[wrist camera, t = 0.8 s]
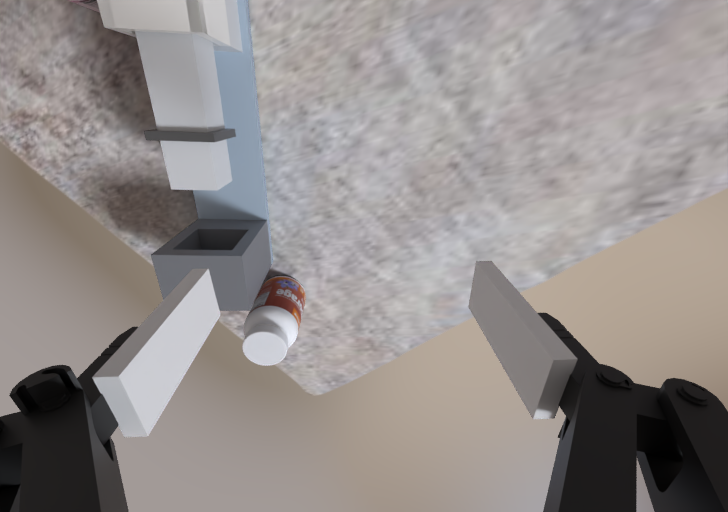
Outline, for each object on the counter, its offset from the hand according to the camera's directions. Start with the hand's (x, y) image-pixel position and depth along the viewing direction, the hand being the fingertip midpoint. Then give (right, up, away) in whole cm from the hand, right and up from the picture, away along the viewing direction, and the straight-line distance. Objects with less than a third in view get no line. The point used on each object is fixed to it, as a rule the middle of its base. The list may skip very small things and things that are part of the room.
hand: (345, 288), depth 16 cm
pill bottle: (-10, -3, +28) cm, 30 cm away
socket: (-15, +3, +23) cm, 28 cm away
